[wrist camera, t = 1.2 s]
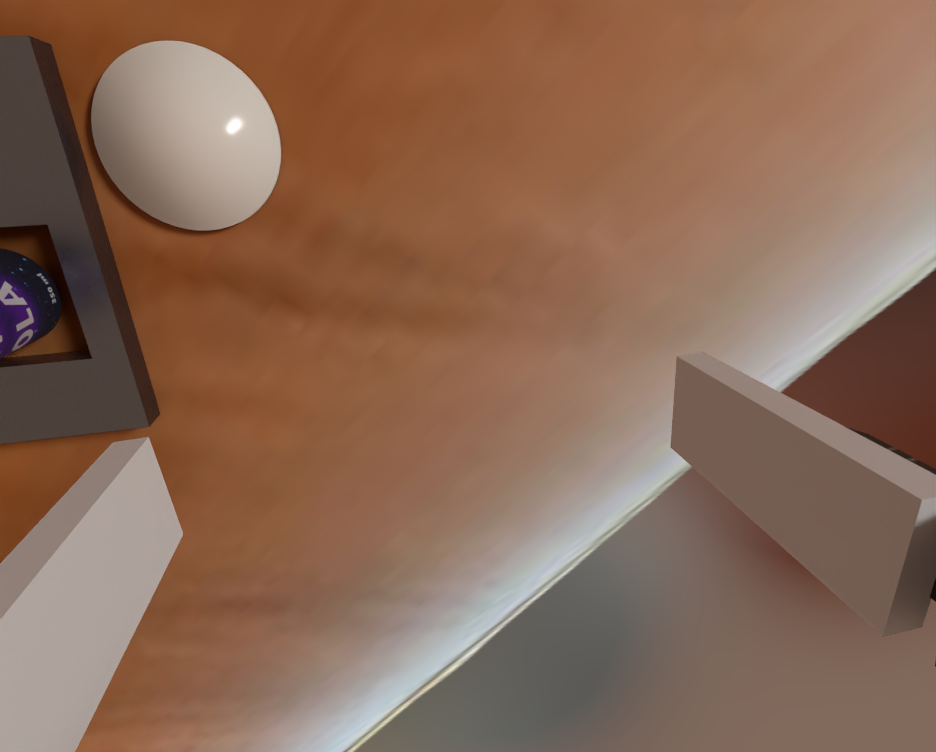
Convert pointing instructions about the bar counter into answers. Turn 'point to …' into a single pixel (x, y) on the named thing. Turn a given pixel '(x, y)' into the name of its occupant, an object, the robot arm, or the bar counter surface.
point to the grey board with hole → (63, 265)
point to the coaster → (186, 135)
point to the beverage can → (25, 302)
